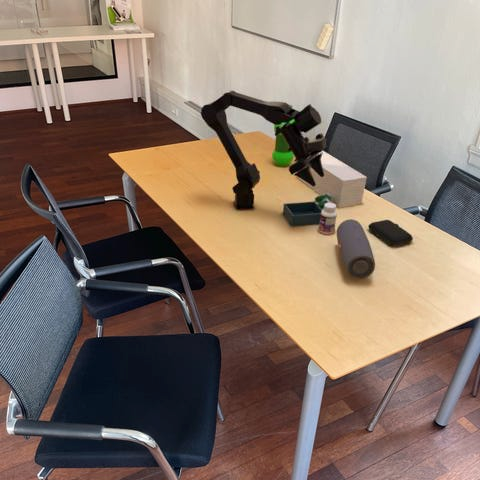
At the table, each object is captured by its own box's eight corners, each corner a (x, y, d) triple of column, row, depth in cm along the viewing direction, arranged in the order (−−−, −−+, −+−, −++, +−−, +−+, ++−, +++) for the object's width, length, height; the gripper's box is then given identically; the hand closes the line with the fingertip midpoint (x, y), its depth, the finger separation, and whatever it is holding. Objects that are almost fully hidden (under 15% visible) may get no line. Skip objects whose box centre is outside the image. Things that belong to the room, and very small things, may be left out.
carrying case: (416, 243, 159) (389, 224, 169) (419, 235, 157) (391, 216, 167) (391, 248, 155) (365, 229, 166) (393, 240, 153) (366, 221, 164)
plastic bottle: (266, 164, 212) (270, 106, 196) (278, 158, 219) (283, 101, 203) (285, 169, 208) (291, 110, 192) (297, 163, 214) (303, 105, 199)
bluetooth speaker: (332, 244, 156) (337, 217, 150) (359, 245, 156) (365, 218, 150) (341, 282, 139) (347, 253, 132) (372, 283, 139) (380, 254, 132)
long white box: (296, 177, 201) (299, 152, 194) (317, 174, 205) (321, 149, 198) (338, 207, 179) (343, 180, 172) (361, 203, 182) (367, 177, 176)
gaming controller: (318, 215, 177) (331, 206, 174) (312, 207, 176) (325, 198, 173) (320, 205, 184) (332, 196, 181) (314, 197, 183) (327, 188, 180)
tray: (291, 226, 166) (292, 216, 163) (282, 213, 173) (283, 203, 171) (323, 223, 168) (325, 213, 166) (313, 211, 176) (314, 201, 173)
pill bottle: (317, 227, 166) (320, 201, 160) (331, 227, 166) (336, 201, 160) (320, 234, 161) (324, 208, 155) (335, 234, 162) (340, 208, 156)
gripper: (305, 134, 143) (330, 179, 147) (324, 119, 156) (346, 161, 160) (277, 153, 150) (302, 194, 154) (297, 137, 163) (320, 176, 167)
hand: (318, 181), depth 159 cm, fingers open, 9 cm apart
